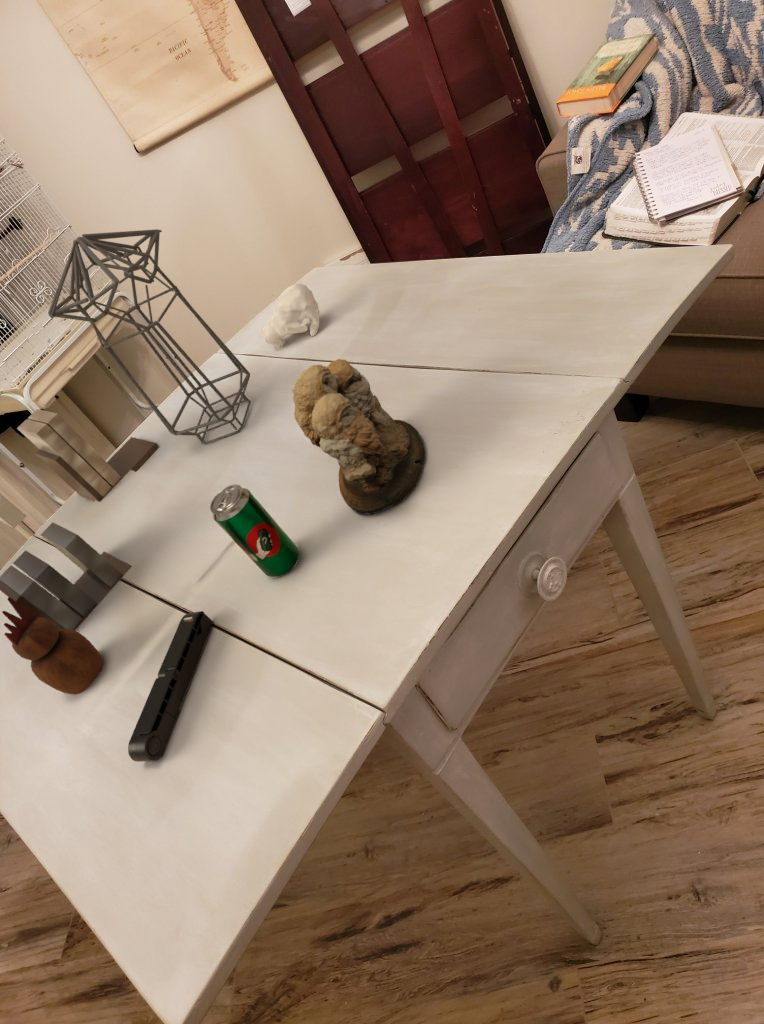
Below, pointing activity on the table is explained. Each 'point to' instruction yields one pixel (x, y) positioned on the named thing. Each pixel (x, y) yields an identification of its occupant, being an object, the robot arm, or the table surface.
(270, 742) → the table surface
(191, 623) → the tablet stand
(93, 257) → the geometric lantern
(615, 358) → the table surface
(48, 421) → the wooden book holder
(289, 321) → the white lumpy piece
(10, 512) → the cream rectangular block
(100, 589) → the grey rack
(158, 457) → the table surface
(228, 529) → the soda can
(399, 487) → the tan stone sculpture
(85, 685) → the wooden figurine
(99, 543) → the table surface
